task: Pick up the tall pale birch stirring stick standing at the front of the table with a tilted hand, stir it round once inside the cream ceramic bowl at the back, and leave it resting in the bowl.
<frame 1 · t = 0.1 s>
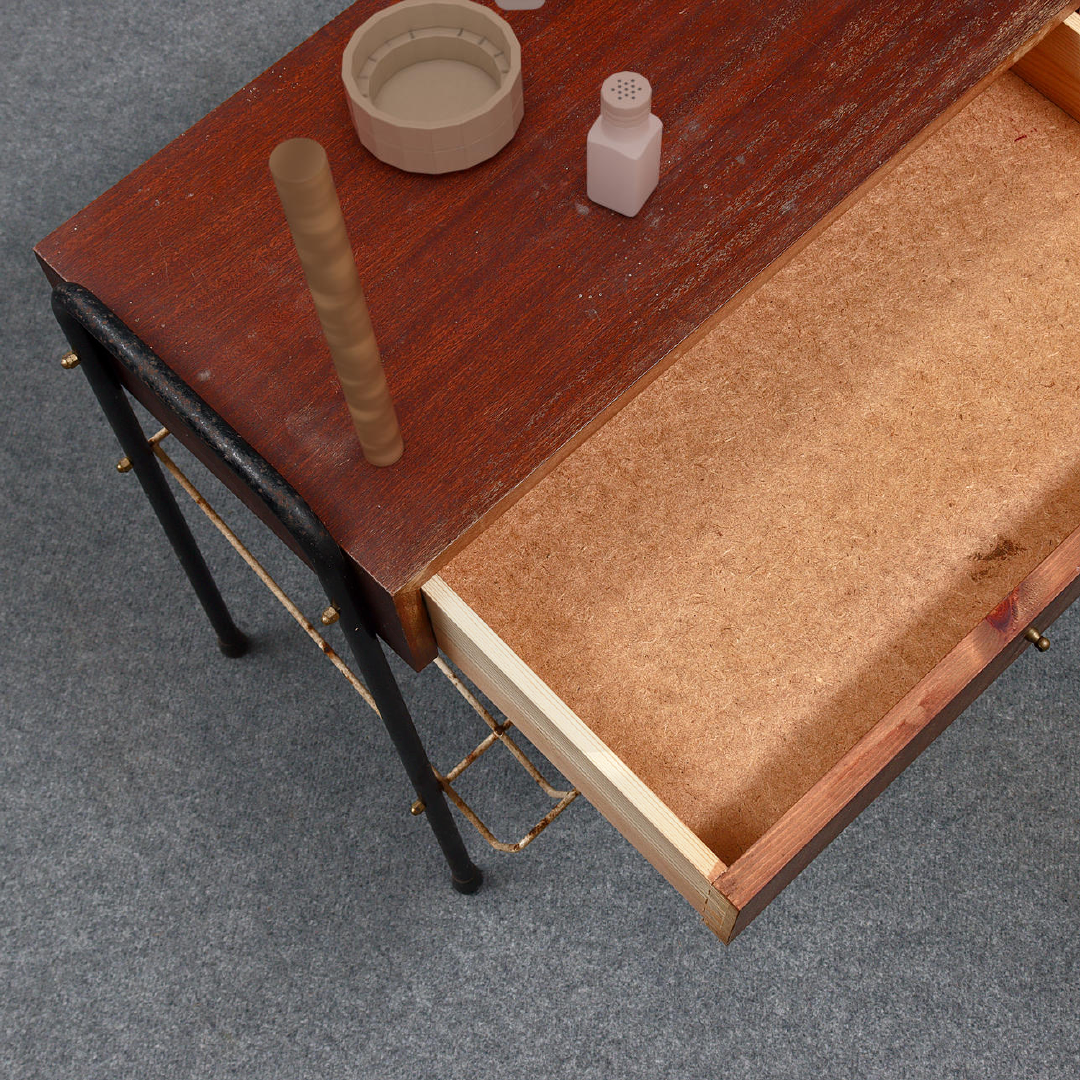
stirring stick: (383, 449, 80), on the table
bowl: (439, 113, 92), on the table
salt shaker: (622, 194, 88), on the table
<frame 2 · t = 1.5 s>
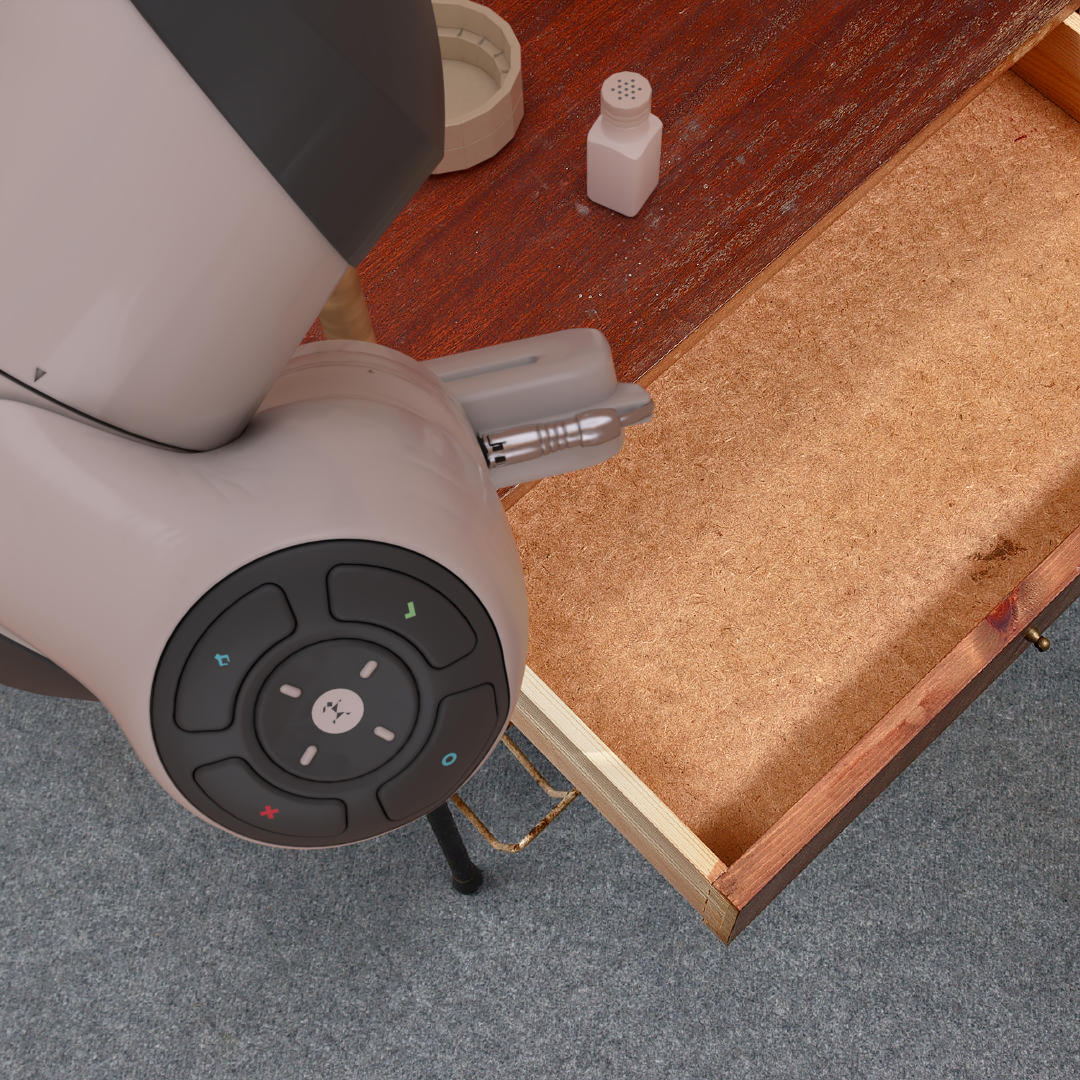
hand: (347, 398, 52), 25 cm above the table, tool tilted 45°, fingers open, 8 cm apart
nothing on the table moved.
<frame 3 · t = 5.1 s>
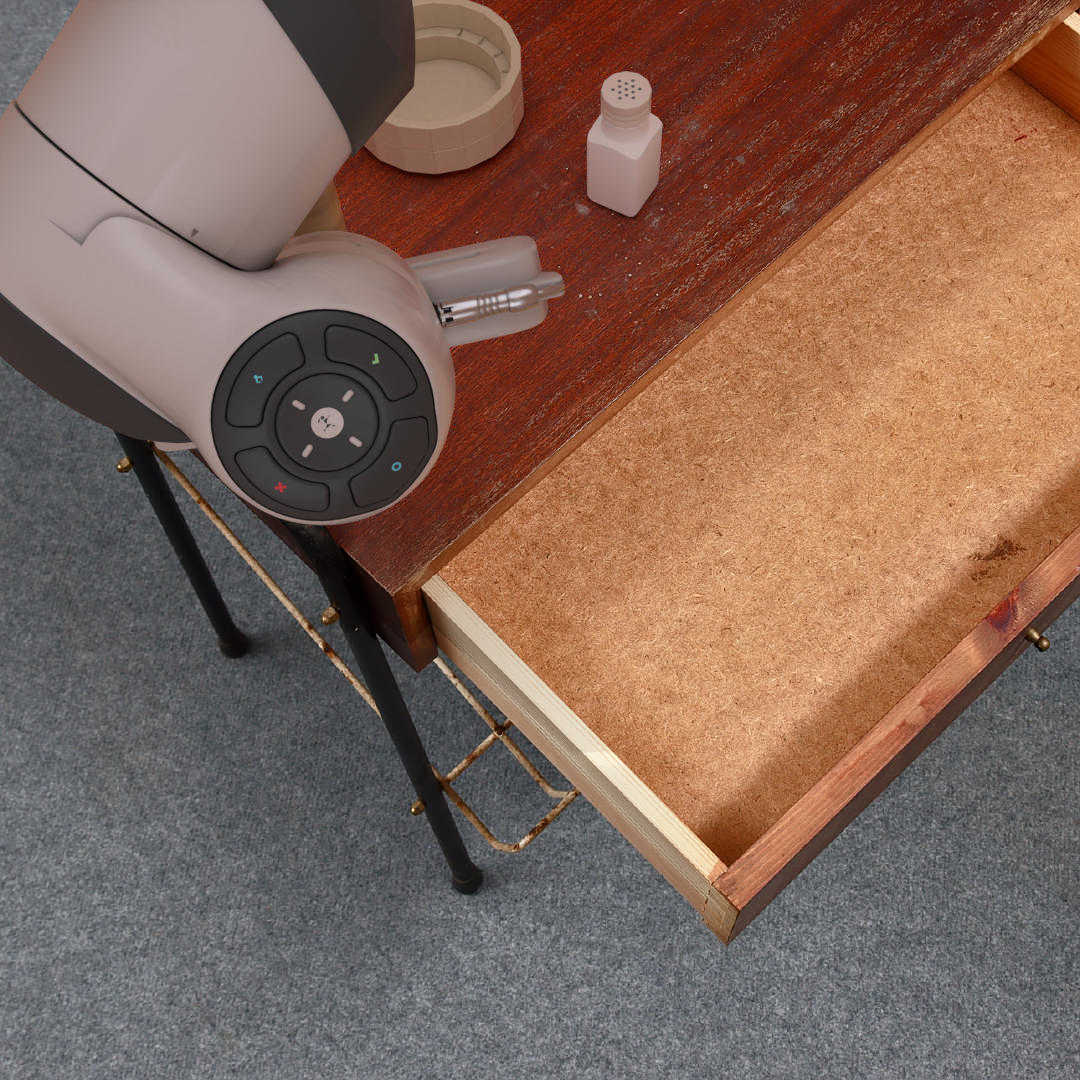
hand: (339, 297, 67), 15 cm above the table, tool tilted 45°, fingers closed on stirring stick, 2 cm apart
stirring stick: (383, 449, 80), on the table, touching gripper
everything else where it was.
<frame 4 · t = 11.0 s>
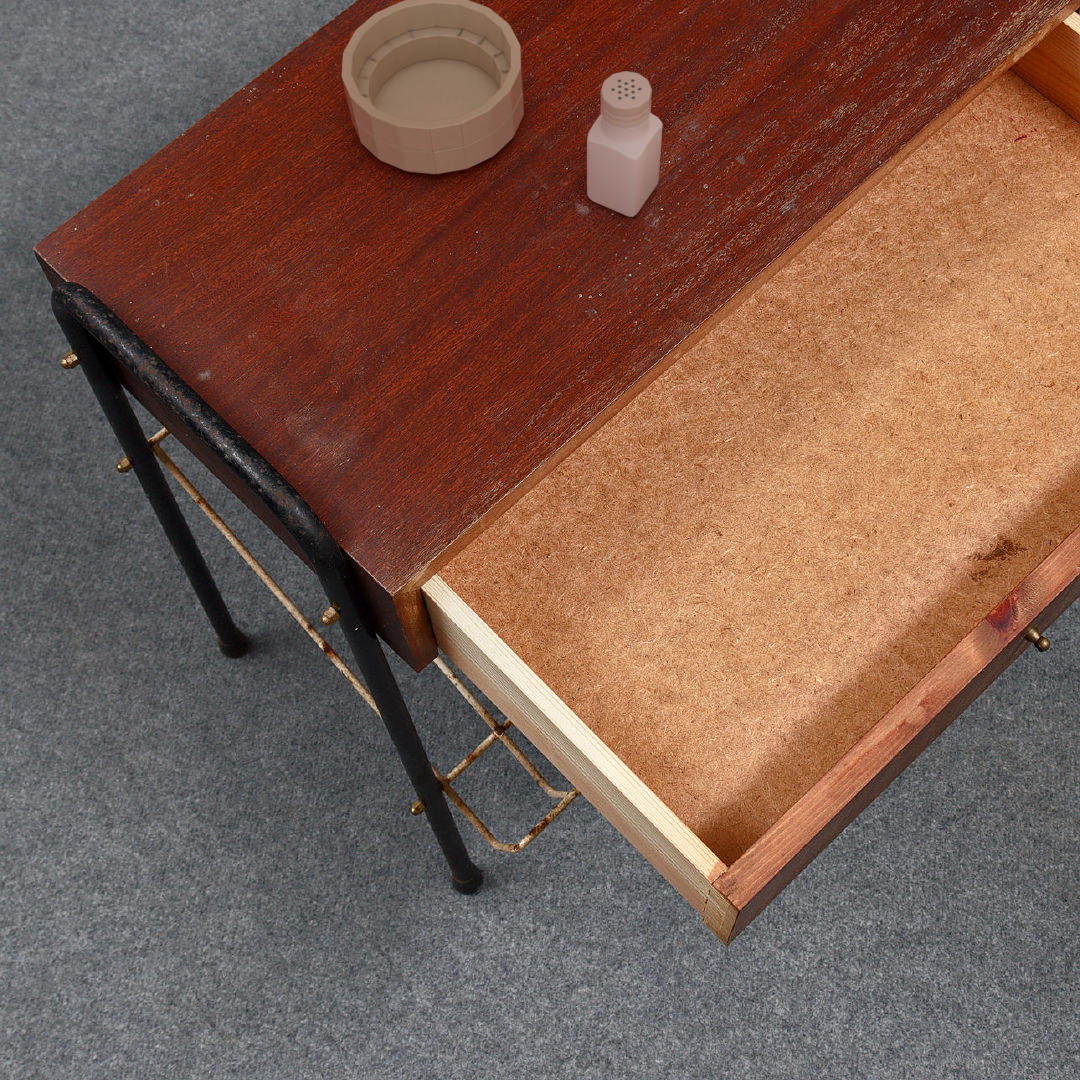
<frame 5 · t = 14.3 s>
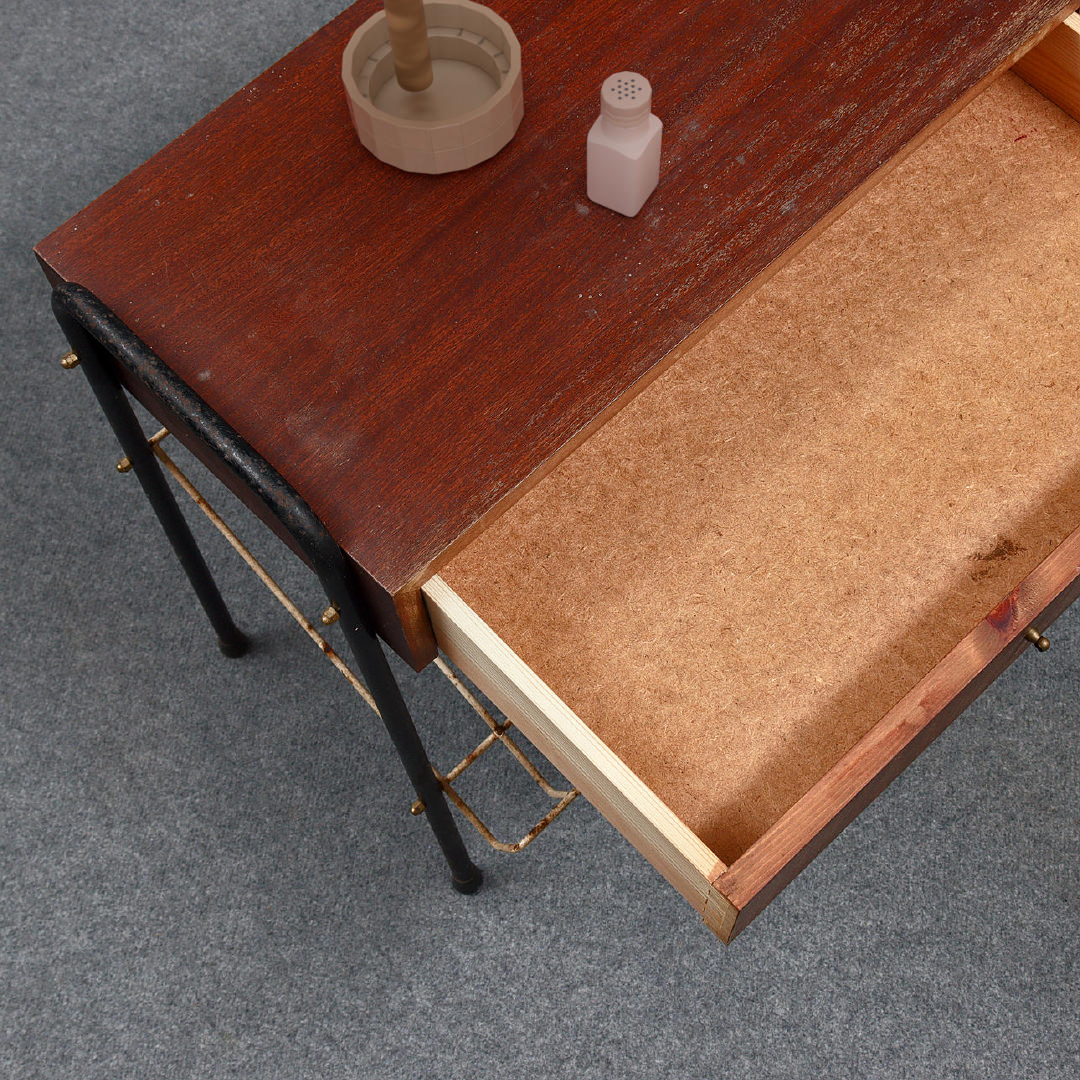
stirring stick: (415, 79, 90), point 3 cm above the table, touching gripper
everything else where it was.
when the fingers open (16 cm above the table, at t = 16.8 s): stirring stick stays where it is, resting on bowl.
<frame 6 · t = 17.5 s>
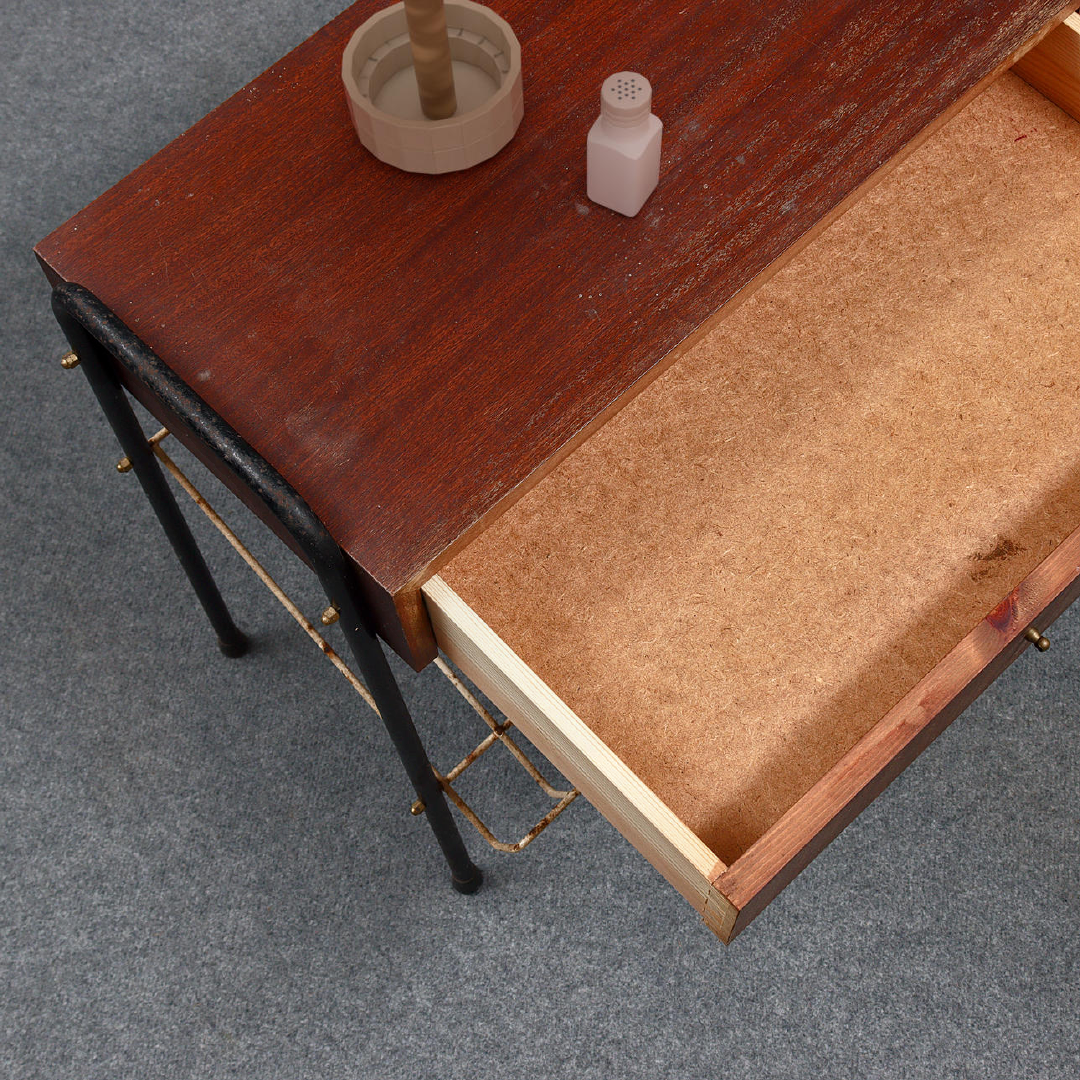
stirring stick: (439, 107, 92), point 1 cm above the table, touching bowl
everything else where it was.
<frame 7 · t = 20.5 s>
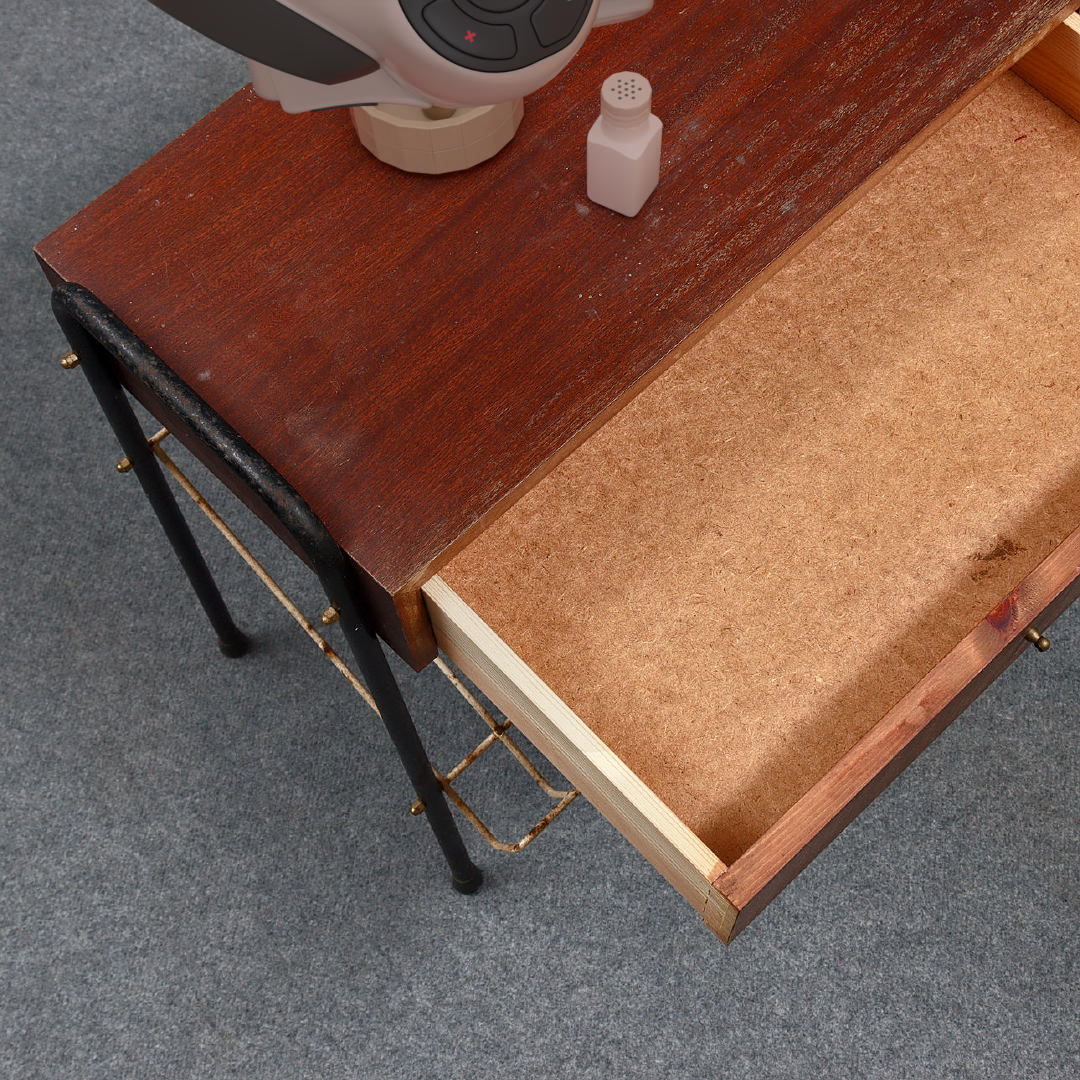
hand: (437, 25, 68), 20 cm above the table, tool tilted 45°, fingers open, 8 cm apart
nothing on the table moved.
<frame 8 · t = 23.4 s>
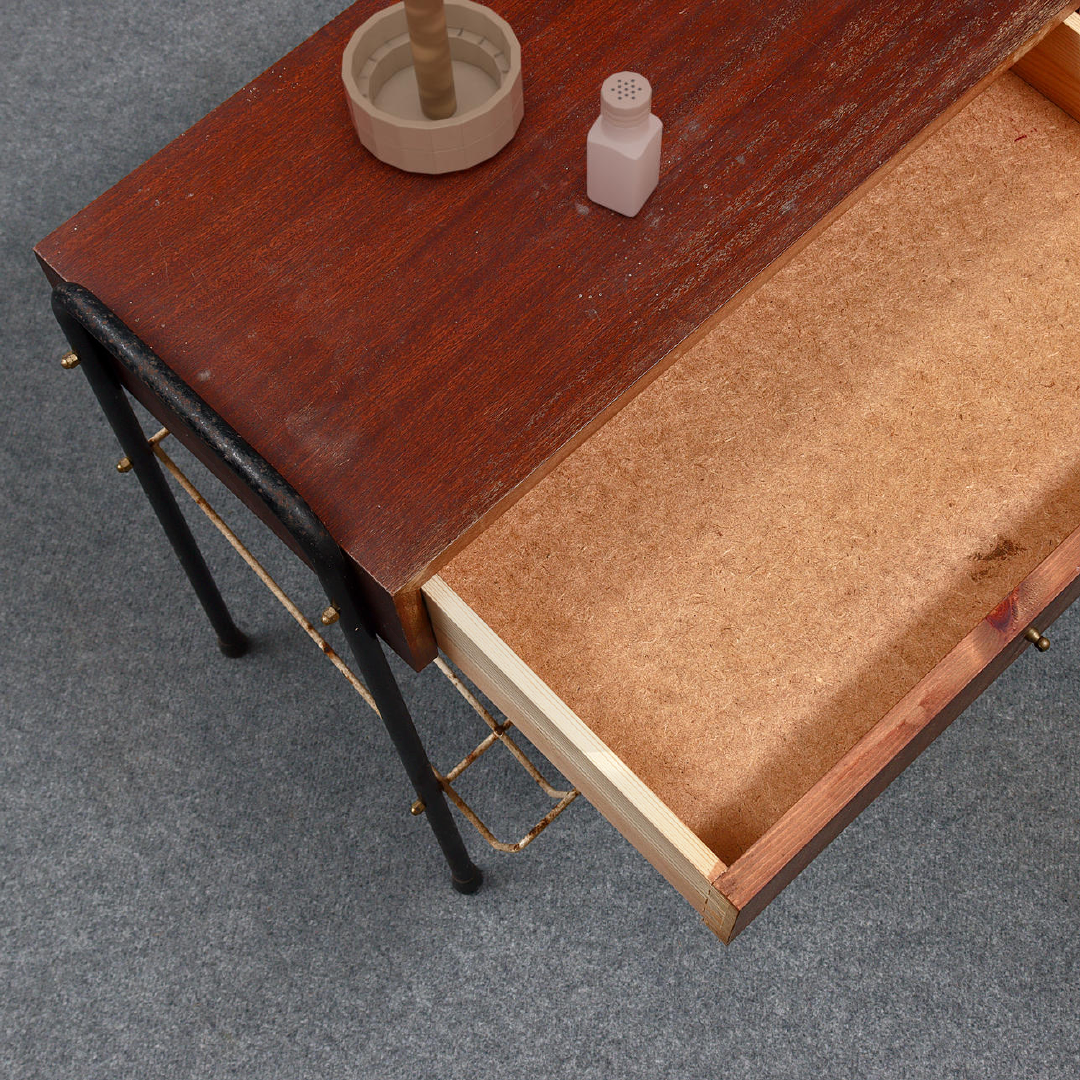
nothing on the table moved.
at the end: stirring stick inside the target area in the bowl (0.1 cm from its centre), point 0.6 cm above the bowl's base; stirring stick moved 28.2 cm from its start; the gripper is holding nothing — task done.
